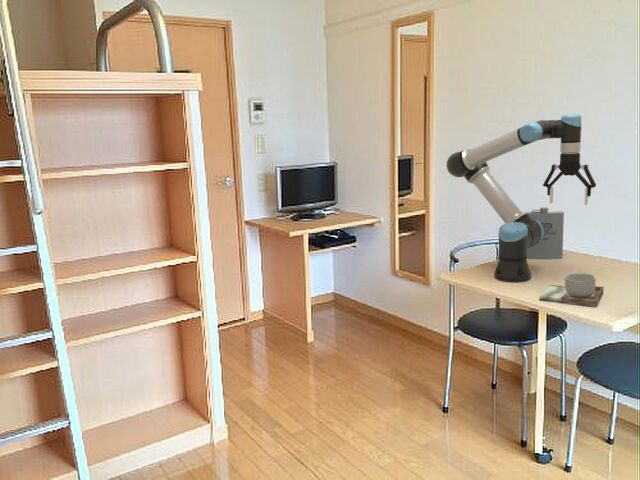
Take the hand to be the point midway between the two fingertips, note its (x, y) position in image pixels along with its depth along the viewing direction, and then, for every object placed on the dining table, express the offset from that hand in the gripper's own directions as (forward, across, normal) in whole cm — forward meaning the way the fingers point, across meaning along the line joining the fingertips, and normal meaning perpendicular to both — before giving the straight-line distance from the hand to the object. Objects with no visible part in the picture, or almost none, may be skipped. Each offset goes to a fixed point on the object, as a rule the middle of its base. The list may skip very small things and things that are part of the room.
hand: (568, 203), depth 239 cm
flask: (+32, +15, -25) cm, 43 cm away
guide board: (+32, -7, +27) cm, 42 cm away
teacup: (+31, -10, +26) cm, 42 cm away
